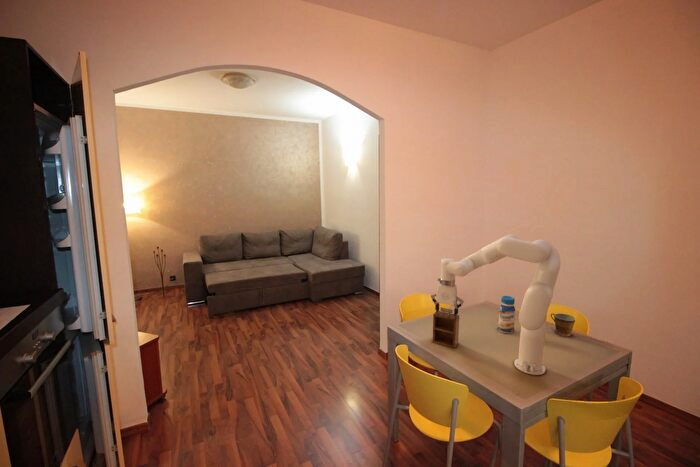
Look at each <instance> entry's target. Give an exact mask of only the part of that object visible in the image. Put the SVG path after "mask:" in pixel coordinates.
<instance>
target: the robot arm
mask: <svg viewBox="0 0 700 467" xmlns="http://www.w3.org/2000/svg"><path fill="white" fill-rule="evenodd" d="M507 257H508V258H512V259H515V260H518V261H519V260H520V261H524V262H529V263H533V264H537V265H536V268H535V271H534V275H533V277H532V281H531V283H530V284H529V286H528V287H527V289H526V291H525V293H524V296H523V300H522V303H521V306H520V310H519V313H518V322H519V324H520V333H519V346H518V358H516V359H515V360H514V367H515V368H516V369H517V370H519V371H520V372H522V373H525V374H528V375H532V376H541V375H543V374H546V369H547V368H546V366H545V365H544V364H543V356H544V345H545V336H546V325H547V317H548V312H549V308H550V305H551V302H552V299H553V296H554V290H555V288H556V283H557V279H558V276H559V273H560V269H561V256H560V253H559V252H558V249H557V248H556V247H555V245H554V244H552V242H550V241H548V240H546V239H541V238H540V239H535V240H533V241H527V240H522V239H521V238H520V237H519V236H518V235H517V234H513V233H511V234H510V233H509V234H506V235H504V236H502V237H500V238H498V239H497V240H495V241H493V242H491V243H489V244H487V245H485V246H483V247H481V248H480V249H479V250H478V251H475V252H473V253H471V254H470V255H468V256H466V257H464V258H463V259H462V258H461V260H458V261H456V260H455V259H454V258H449V257H448V258H447V257H445V258H442V259H441V260H440V270H439V271H440V274H439V278H437V282H439V283H438V284H437V288H436V293H433V294H431V295H430V298H431V300H432V302H433V304H434V306H435V307H434V309H435V312H438V311H440V304H444V305H450V306H453V307H454V309H453V314H454V316H456V315H459V308H461V307H462V306H463V305H464V303H465V300H464V299H462V298H460V297H459V296H458V287H457V284H456V276H457V277H461V278H463V277H466V276H467V275H469V274H470V273H471V272H473V271H475V270H477V269H480V268H481V267H483V266H485V265H492V264H494V263H496V262H498V261H500V260H502V259H504V258H507ZM458 302H459V303H458Z"/></svg>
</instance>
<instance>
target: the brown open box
mask: <svg viewBox="0 0 700 467" xmlns="http://www.w3.org/2000/svg"><path fill="white" fill-rule="evenodd" d="M459 332H460V314H457V315H456V316H454V309H450V308H445V307H440V308H439V311H438V312H436V311H435V312H433V316H432V343H434V344H438V345H442V346H445V347H449V348H453V349H456V347H457V346H458V345H459Z"/></svg>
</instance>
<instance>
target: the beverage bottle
mask: <svg viewBox="0 0 700 467" xmlns="http://www.w3.org/2000/svg"><path fill="white" fill-rule="evenodd" d="M500 299H501V300H500V302H501V304H500V305H499V310H498V327H497V329H498V331H499V332H501V333H503V334H514V332H515V320H516V307H515V301H516V299H515V297H513V296H509V295H503V296H501V298H500Z"/></svg>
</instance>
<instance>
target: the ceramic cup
mask: <svg viewBox="0 0 700 467" xmlns="http://www.w3.org/2000/svg"><path fill="white" fill-rule="evenodd" d="M550 318H551V319H552V321H553V322H554V326H555V333H556V334H557V335H559V336H563V337H570V336H571V334H572V332H573V328H574V325H575V322H576V317H574V316H573V315H570V314H566V313H562V312H561V313H551V314H550Z"/></svg>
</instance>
